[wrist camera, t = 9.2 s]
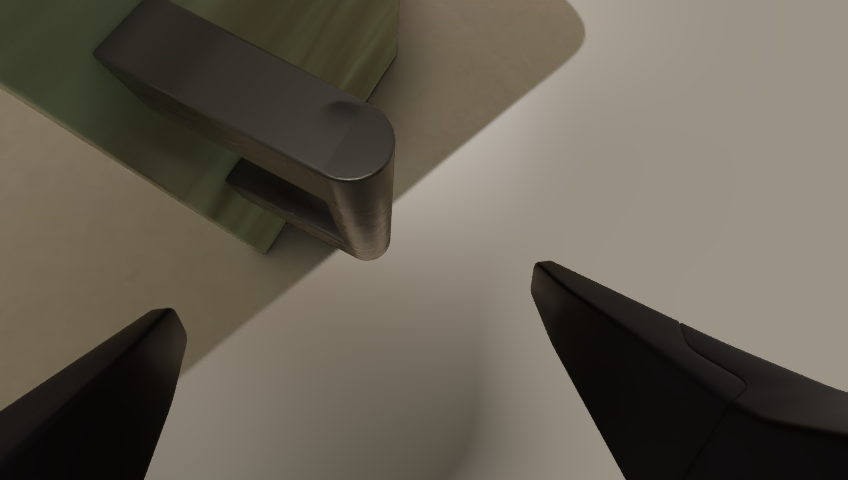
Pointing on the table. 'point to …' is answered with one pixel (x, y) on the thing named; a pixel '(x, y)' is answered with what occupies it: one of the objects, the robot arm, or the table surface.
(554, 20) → the table surface
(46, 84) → the door
